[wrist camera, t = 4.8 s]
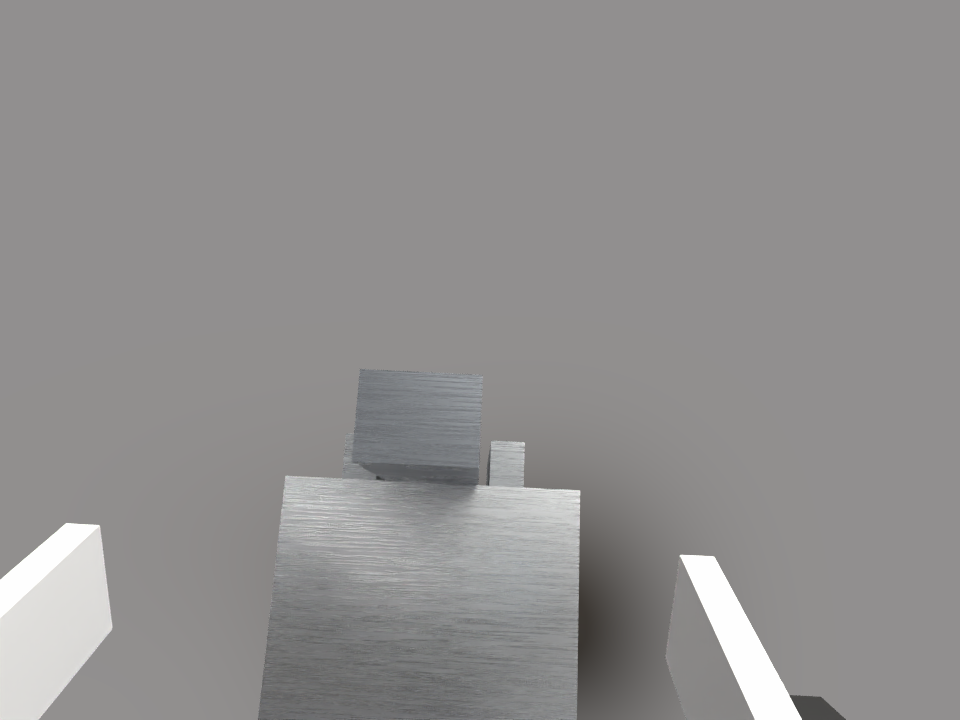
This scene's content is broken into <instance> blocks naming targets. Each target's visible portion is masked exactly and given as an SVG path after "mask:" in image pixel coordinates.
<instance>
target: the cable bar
mask: <svg viewBox="0 0 960 720" xmlns="http://www.w3.org/2000/svg"><path fill="white" fill-rule="evenodd" d="M482 380H483V375H471V374H450V373H428V372H408V371H407V372H406V371H388V370H365V369H360V376H359V387H358V398H357V409H356V420H355V430H354V441H353V452H352V462H353V463H355V464H357V465H359V466H361V467H362V468H364V469H366V470H368V471H370V472H372V473H373V474H375V475H377V476H379V477H381V478H383V479H385V480H386V481H398V482H418V483H439V484H459V485H478V482H479V481H478V480H479V461H480V436H481V409H482V382H483V381H482Z"/></svg>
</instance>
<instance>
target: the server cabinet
mask: <svg viewBox="0 0 960 720" xmlns="http://www.w3.org/2000/svg"><path fill="white" fill-rule="evenodd" d="M353 441H354V434H346V442H345V453H344V464H343V474H342V479H338V478H318V477H298V476H297V477H296V476H286V477H285V486H284V494H283V504H282V512H281V513H282V514H281V521H280V530H279V539H278V547H277V557H276V565H275V575H274V583H273V591H272V600H271V609H270V618H269V627H268V636H267V645H266V653H265V662H264V671H263V680H262V689H261V697H260V707H259V716H258V720H577V663H578V595H579V594H578V593H579V591H578V590H579V526H580V491H579V490H559V489H539V488H523V480H524V451H525V450H524V448H525V442H507V441H491V445H490V452H489V458H488V464H487V481H486V486H479V485H459V484H439V483H418V482H398V481H386V480H385V479H383V478H381V477H379V476H377V475H375V474H373V473H372V472H370V471H368V470H366V469H364V468H362V467H361V466H359V465H357V464H355V463H353V462H352V452H353Z"/></svg>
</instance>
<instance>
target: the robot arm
mask: <svg viewBox="0 0 960 720" xmlns="http://www.w3.org/2000/svg"><path fill="white" fill-rule="evenodd" d="M111 630H112V620H111V612H110V604H109V596H108V588H107V580H106V572H105V564H104V556H103V549H102V540H101V532H100V525H86V524H67V523H66V524H65V525H64V526H63V527H61V528H60V529H59V530H58V531H57V532H56V533H54V534H53V535H52V536H51V537H50V538H49V539H47V540H46V541H45V542H44V543H43V544H42V545H40V546H39V547H38V548H37V549H36V550H35V551H33V552H32V553H31V554H30V555H29V556H28V557H26V558H25V559H24V560H23V561H22V562H21V563H19V564H18V565H17V566H16V567H15V568H14V569H12V570H11V571H10V572H9V573H8V574H6V575H5V576H4V577H3V578H2V579H1V580H0V720H38V719H39V718H40V717H41V716H42V715H43V714H44V712H45V711H46V710H47V708H48V707H49V706H50V705H51V704H52V702H53V701H54V700H55V699H56V697H57V696H58V695H59V694H60V693H61V691H62V690H63V689H64V688H65V686H66V685H67V684H68V683H69V682H70V680H71V679H72V677H74V675H75V674H76V673H77V672H78V670H79V669H80V668H81V667H82V665H83V664H84V663H85V662H86V660H87V659H88V658H89V657H90V656H91V654H92V653H93V652H94V650H96V648H97V646H99V645H100V643H101V642H102V641H103V639H104V638H105V637H106V636H107V635H108V633H109V632H110V631H111ZM665 658H666V661H667V664H668V667H669V670H670V673H671V676H672V679H673V682H674V685H675V688H676V691H677V694H678V697H679V700H680V703H681V706H682V709H683V712H684V715H685V718H686V720H846V719H845V718H844V717H842V716H841V715H840V714H839V713H838V712H837V711H836V710H835V709H834V708H832V707H831V706H830V705H829V704H828V703H827V702H826V701H825V700H824V699H823V698H821V697H813V696H793V695H788V693H787V691H786V689H785V687H784V686H783V683H782V682H781V680H780V678H779V676H778V674H777V672H776V671H775V669H774V667H773V665H772V663H771V661H770V659H769V658H768V656H767V654H766V652H765V650H764V648H763V646H762V645H761V643H760V641H759V639H758V637H757V635H756V633H755V632H754V630H753V628H752V626H751V624H750V622H749V620H748V619H747V617H746V615H745V613H744V611H743V609H742V607H741V606H740V604H739V602H738V600H737V598H736V596H735V595H734V593H733V591H732V589H731V587H730V585H729V583H728V581H727V580H726V578H725V576H724V574H723V573H722V570H721V569H720V567H719V565H718V563H717V561H716V559H715V557H712V556H711V557H710V556H692V555H680V558H679V565H678V572H677V579H676V587H675V594H674V601H673V607H672V614H671V622H670V629H669V636H668V643H667V650H666V657H665Z"/></svg>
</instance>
